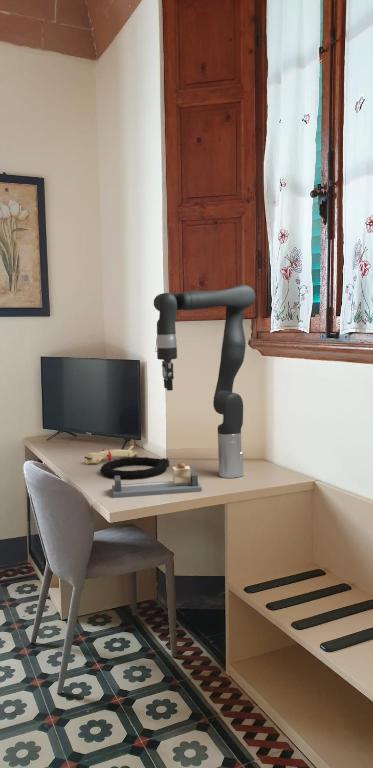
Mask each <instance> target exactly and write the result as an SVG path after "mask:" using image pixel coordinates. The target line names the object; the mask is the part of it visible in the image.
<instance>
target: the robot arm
mask: <svg viewBox="0 0 373 768" xmlns="http://www.w3.org/2000/svg"><path fill="white" fill-rule="evenodd" d="M255 302H256V292H255V290H254V289H253V288H252V287H251V286H249V285H248V284H247V285H246V284H239V285H235V286H232V287H230V288H227V289H219V290H192V291H183V292H178V293H177V292H175V293H173V292H163V293H159V294H157V295H155V298H154V299H153V306H154V308H155V309H156V310H157V311H158V312H159V316H158V317H159V318H158V320H157V321H156V333H157V334H156V353H157V354H156V356H157V357H156V358H157V360H160V361H161V368H162V369H161V370H162V371H161V373H162V378H163V388H164V389H166V390H167V391H173V389H174V386H173V380H174V378H175V377H174V363H173V362H172V361H173V360H176V359H177V358H178V348H177V347H178V345H177V335H176V331H177V330H176V319H177V312H178V311H194V310H195V311H196V310H205V309H211V308H212V309H213V308H220V307H225V322H224V328H223V329H224V330H223V337H222V345H221V351H220V352H221V353H220V361H219V362H220V363H219V367H218V368H219V369H218V375H217V376H218V377H217V382H216V385H215V392H214V394H213V395H214V396H213V402H212V403H213V406H212V407H213V409H214V411H215V413H217V414H219V415H222V416H223V417H222V423H221V424H218V426H217V450H218V451H217V452H218V453H217V454H218V456H217V457H218V476H219V477H221V478H224V479H225V478H226V479H234V478H239V477H244V452H243V451H242V426H243V424H244V402H243V401H244V400H243V398H242V397H241V395H240V394H239V393H236V392H233V388H234V382H235V378H236V376H237V374H238V373H239V371H240V369H241V367H242V366H243V363H244V360H245V353H246V348H247V347H246V346H247V345H246V336H245V330H244V324H243V319H244V313H245V309H248V308H249V307H251V306H252V305H254V303H255Z"/></svg>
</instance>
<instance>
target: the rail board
mask: <svg viewBox="0 0 373 768" xmlns="http://www.w3.org/2000/svg"><path fill="white" fill-rule="evenodd" d="M114 477H115V478H114V484H112V485H111V488H112V489H111V490H112V499H113V498H114V499H117V498H118V499H119V498H129V497H143V496H145V497H146V496H156V495H157V496H158V495H168V494H169V495H170V494H172V495H173V494H183V493H184V494H185V493H186V494H187V493H197V492H198V493H199V492H200V491H201V492H203V487H202V486H201V484H200V483H199V479H198V478H199V476H198V474H197V472H196V471H195V470H194V469H193V470H191V482H186V483H174V481H173V480H166V481H153V482H140V483H127V484H125V483H124V484H122V479H120V475H119V476H114Z"/></svg>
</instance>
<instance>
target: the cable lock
mask: <svg viewBox="0 0 373 768" xmlns="http://www.w3.org/2000/svg"><path fill="white" fill-rule="evenodd" d="M170 464H171V462H170V460H169V458H168V457H166V458H164V457H163V458H160V457H159V458H154V457H147V456H145V457H142V456H141V457H140V456H138V457H123V458H120V459H113V460H111V461H110V462H109V461H107V462H106V463H103V464H102V466H101V467H100V473H101V474H102V475H103V476H104V477H106V478H109V479H115V477H114V476H119V475H120V479H121V480H138V479H139V480H140V479H142V480H143V479H147V478H152V477H156V476H158V475H162V474H163V473H166V471H167V468H168V467H170ZM132 466H146V467H149V466H150V468H146V469H135V470H121V469H117V468H122V467H132Z"/></svg>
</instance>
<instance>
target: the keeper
mask: <svg viewBox="0 0 373 768" xmlns="http://www.w3.org/2000/svg"><path fill="white" fill-rule="evenodd" d="M191 471H192V469H191V467H190V466H189V465H185V463H184V462H178V463H177V466H172V481H174V483H186V482H191Z"/></svg>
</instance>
